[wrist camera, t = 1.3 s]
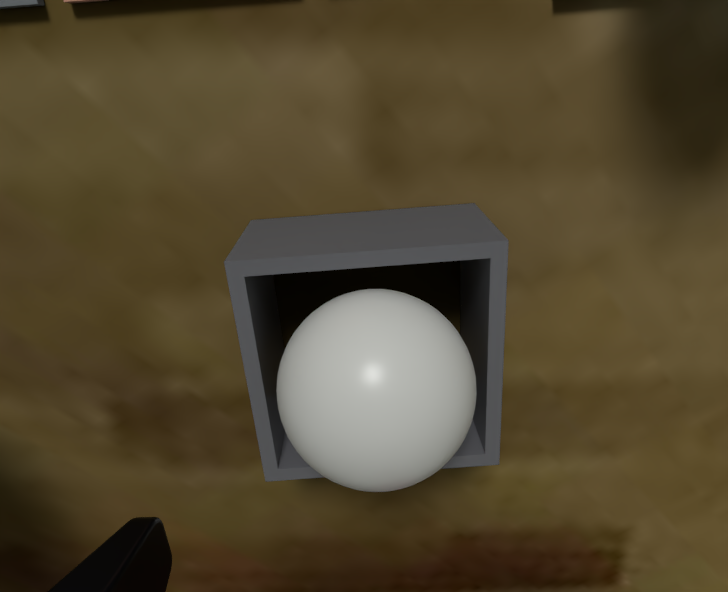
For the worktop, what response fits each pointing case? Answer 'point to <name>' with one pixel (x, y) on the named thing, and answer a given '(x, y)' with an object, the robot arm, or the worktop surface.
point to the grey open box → (361, 250)
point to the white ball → (376, 390)
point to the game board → (33, 3)
